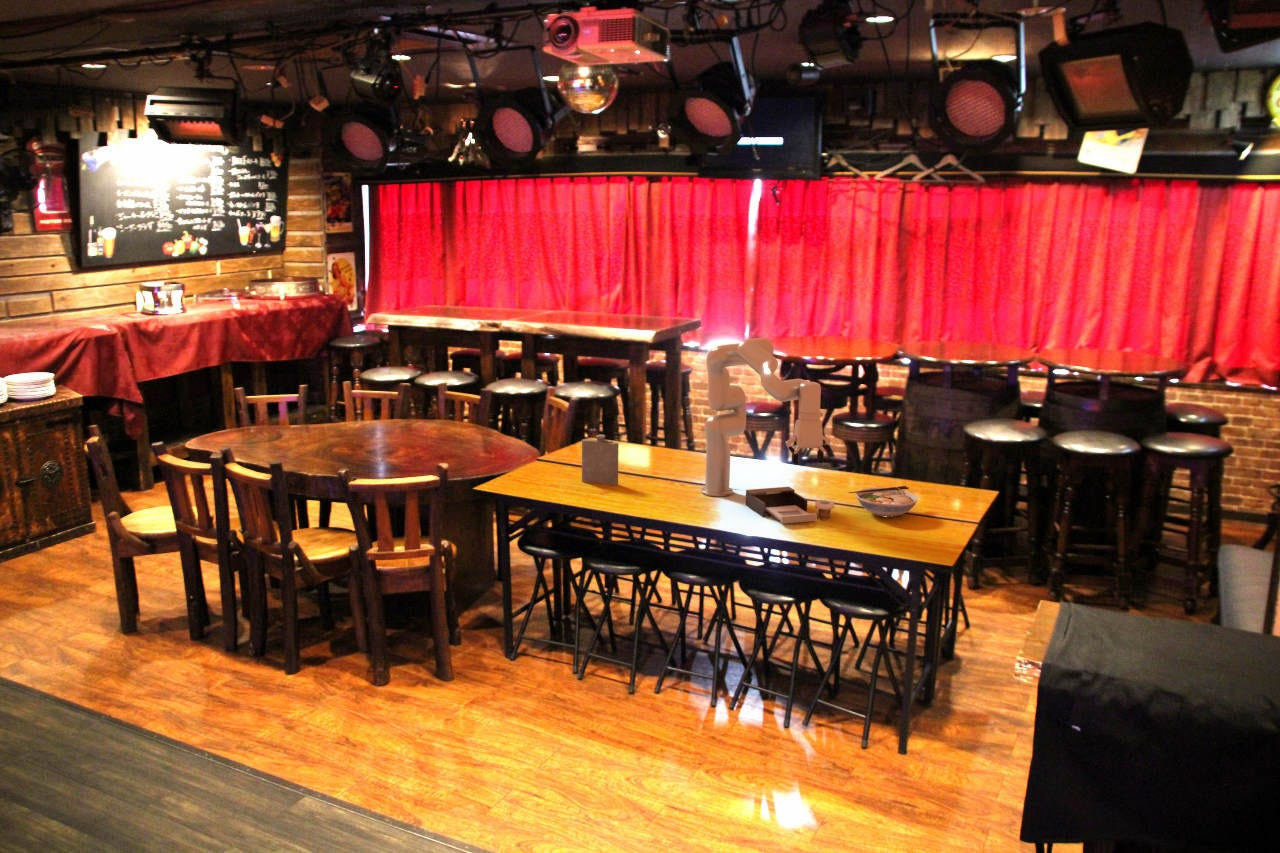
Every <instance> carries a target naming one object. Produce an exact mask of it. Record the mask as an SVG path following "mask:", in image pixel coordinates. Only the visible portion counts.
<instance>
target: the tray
mask: <svg viewBox="0 0 1280 853" xmlns="http://www.w3.org/2000/svg"><path fill="white" fill-rule="evenodd" d="M765 511H766V512H768V513H769V514H771V515H772V516H773V517H774V518H775V519H776V520H778V521H779V522H780V524H794V523H802V522H803V523H805V522H815V521H818V513H816V512H814V513H809V512H808V511H807V512H806V511H804V510H802V509H801V508H799V507H798V506H796V505H793V506H781V507H769V508H765Z"/></svg>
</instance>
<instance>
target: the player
mask: <svg viewBox="0 0 1280 853" xmlns="http://www.w3.org/2000/svg"><path fill="white" fill-rule="evenodd" d="M793 505H796V506H798V507H799V508H801V509H802V510H804V511H806V512H807V513H808V499H807V498H805V497H803V496H802V495H800V494H799V493H798V492H795V489H793V488H792V487H790V486H779V487H767V488H765V487H764V488H753V489H745V506H746V507H747V508H748V509H750V510H752V511H753V512H754V513H756V514H757V515H759V516H760V517H761V518H773V517H774V516H772V515H771V514H769V513H768V512H766V511H765V508H769V507H781V506H793Z"/></svg>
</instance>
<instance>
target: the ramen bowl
mask: <svg viewBox="0 0 1280 853" xmlns="http://www.w3.org/2000/svg"><path fill="white" fill-rule="evenodd" d="M909 488H910V487H909V486H907V485H902V486H894V487H893V486H892V487H869V488H861V489H860V490H857V491H849V492H848V494H855V496H856V498H857V501H858V502H859V504H860V505H861V506H862V507H863V508H864V509H865V510H866V511H867V512H870V513H872V514H874V515H875V516H877V515H879V516H878V517H880V516H887V517H886V518H892V517H891V516H894V517H896V516H901V515H904V514H906V513H908V512H909V511H911V510H912V509H913V508H914V507H915V505H916V504H917V503H918V500H919V497H918V496H917V495H916V494H914V493H912V492H909V491H907V490H909Z"/></svg>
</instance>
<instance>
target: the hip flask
mask: <svg viewBox="0 0 1280 853" xmlns="http://www.w3.org/2000/svg"><path fill="white" fill-rule="evenodd" d="M605 438H606V435H605V434H597V435H596V439H592V438H591V439H588V438H586V439H585V438H584V439H581V482H582V483H589V484H597V485H598V484H599V485H606V486H611V487H616V486H619V446H620V445H619V442H617V441H612V440H609V439H608V440H607V439H605Z"/></svg>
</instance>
